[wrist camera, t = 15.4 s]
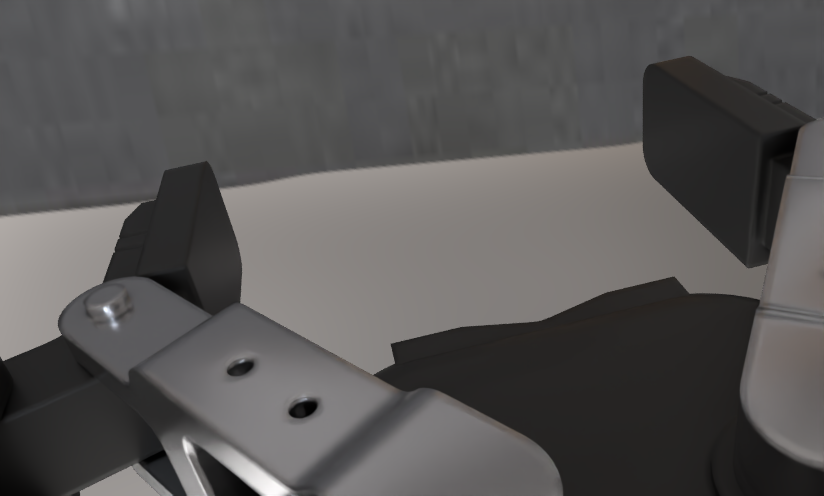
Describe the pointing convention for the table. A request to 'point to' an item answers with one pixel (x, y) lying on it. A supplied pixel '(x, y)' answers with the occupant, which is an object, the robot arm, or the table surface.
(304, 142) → the table surface
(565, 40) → the table surface
